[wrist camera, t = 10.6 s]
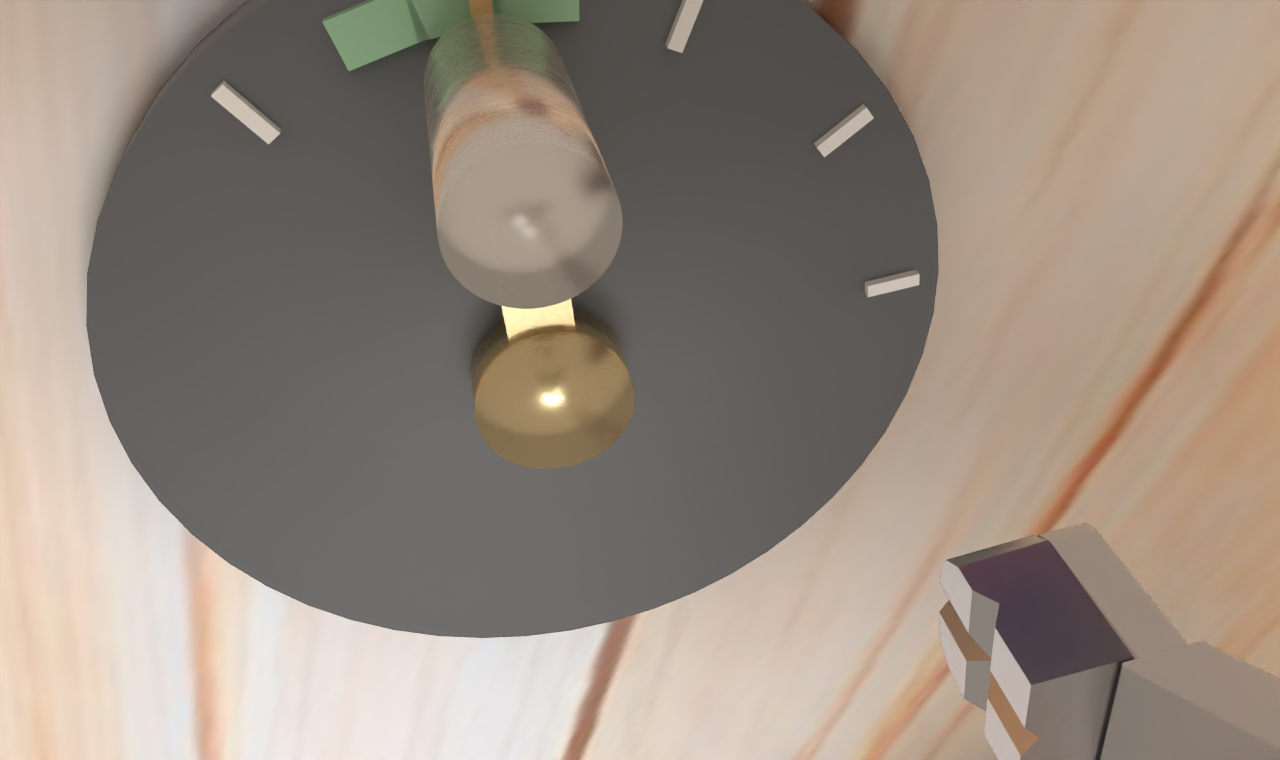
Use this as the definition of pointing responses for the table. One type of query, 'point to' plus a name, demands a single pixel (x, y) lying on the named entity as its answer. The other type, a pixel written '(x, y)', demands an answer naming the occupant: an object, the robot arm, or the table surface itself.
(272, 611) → the table surface
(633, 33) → the dial plate
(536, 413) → the brass lever
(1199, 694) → the robot arm
